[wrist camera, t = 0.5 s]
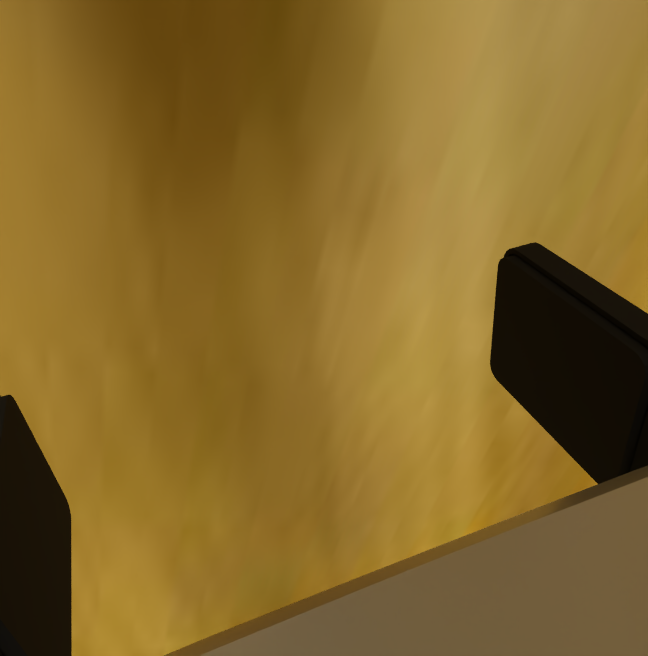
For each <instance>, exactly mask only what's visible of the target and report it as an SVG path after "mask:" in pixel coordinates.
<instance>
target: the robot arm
mask: <svg viewBox="0 0 648 656" xmlns="http://www.w3.org/2000/svg"><path fill="white" fill-rule="evenodd" d="M490 366H491V370H492V373H493V375H494V377H495V378H496V379H497V381H498V382H499V383H500V384H501V385H502V386H503V387H504V388H505V389H506V390H507V391H508V392H509V393H510V394H511V395H512V396H513V397H514V398H515V399H516V400H517V401H518V402H519V403H520V404H521V405H522V406H523V407H524V408H525V409H526V410H527V411H528V412H529V413H530V415H531V416H532V417H533V418H534V419H535V420H536V421H537V422H538V423H539V424H540V425H541V426H542V427H543V428H544V429H545V430H546V431H547V432H548V433H549V434H550V435H551V436H552V437H553V438H554V439H555V440H556V441H557V442H558V443H559V444H560V445H561V446H562V447H563V448H564V449H565V451H566V452H567V453H568V454H569V455H570V456H571V457H572V458H573V459H574V460H575V461H576V462H577V463H578V464H579V465H580V466H581V467H582V468H583V469H584V470H585V471H586V472H587V473H588V474H589V475H590V476H591V477H592V478H593V479H594V480H595V481H596V482H597V483H598V485H595V486H593V487H590V488H587V489H585V490H582V491H580V492H577V493H574V494H572V495H569V496H567V497H564V498H561V499H559V500H556V501H554V502H551V503H548V504H546V505H543V506H541V507H538V508H535V509H533V510H530V511H527V512H525V513H522V514H520V515H517V516H515V517H512V518H509V519H507V520H504V521H502V522H499V523H497V524H494V525H491V526H489V527H486V528H484V529H481V530H479V531H476V532H473V533H471V534H468V535H466V536H463V537H461V538H458V539H456V540H453V541H450V542H448V543H445V544H443V545H440V546H438V547H435V548H433V549H430V550H427V551H425V552H422V553H420V554H417V555H415V556H412V557H410V558H407V559H404V560H402V561H399V562H397V563H394V564H392V565H389V566H387V567H384V568H381V569H379V570H376V571H374V572H371V573H369V574H366V575H364V576H361V577H359V578H356V579H353V580H351V581H348V582H346V583H343V584H341V585H338V586H336V587H333V588H331V589H328V590H326V591H323V592H321V593H318V594H316V595H313V596H311V597H308V598H306V599H303V600H301V601H298V602H296V603H293V604H290V605H288V606H285V607H283V608H280V609H278V610H275V611H273V612H270V613H268V614H265V615H263V616H260V617H258V618H255V619H253V620H250V621H248V622H245V623H243V624H240V625H238V626H235V627H233V628H230V629H228V630H225V631H222V632H220V633H217V634H215V635H212V636H210V637H207V638H205V639H203V640H200V641H198V642H195V643H193V644H191V645H188V646H186V647H183V648H181V649H179V650H176V651H174V652H171V653H169V654H166V655H164V656H648V314H647V313H646V312H644V311H643V310H641V309H640V308H638V307H637V306H635V305H633V304H632V303H630V302H629V301H627V300H626V299H624V298H623V297H621V296H619V295H618V294H616V293H615V292H613V291H612V290H610V289H609V288H607V287H606V286H604V285H602V284H601V283H599V282H598V281H596V280H595V279H593V278H592V277H590V276H588V275H587V274H585V273H584V272H582V271H581V270H579V269H578V268H576V267H575V266H573V265H571V264H570V263H568V262H567V261H565V260H564V259H562V258H561V257H559V256H557V255H556V254H554V253H553V252H551V251H550V250H548V249H547V248H545V247H543V246H542V245H540V244H538V243H530V244H526V245H522V246H519V247H515V248H511V249H509V250H508V251H506V253H505V255H504V258H502V259H501V260H500V261H499V264H498V272H497V284H496V297H495V309H494V321H493V334H492V346H491V358H490ZM0 656H71V514H70V509H69V505H68V502H67V499H66V497H65V495H64V493H63V491H62V489H61V488H60V486H59V484H58V482H57V480H56V478H55V476H54V474H53V472H52V470H51V468H50V466H49V465H48V463H47V461H46V459H45V457H44V455H43V453H42V451H41V449H40V447H39V445H38V443H37V442H36V440H35V438H34V436H33V434H32V432H31V430H30V428H29V426H28V424H27V422H26V420H25V418H24V417H23V415H22V413H21V411H20V409H19V407H18V405H17V403H16V401H15V400H14V398H13V397H12V396H11V395H6V396H2V397H1V396H0Z"/></svg>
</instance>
